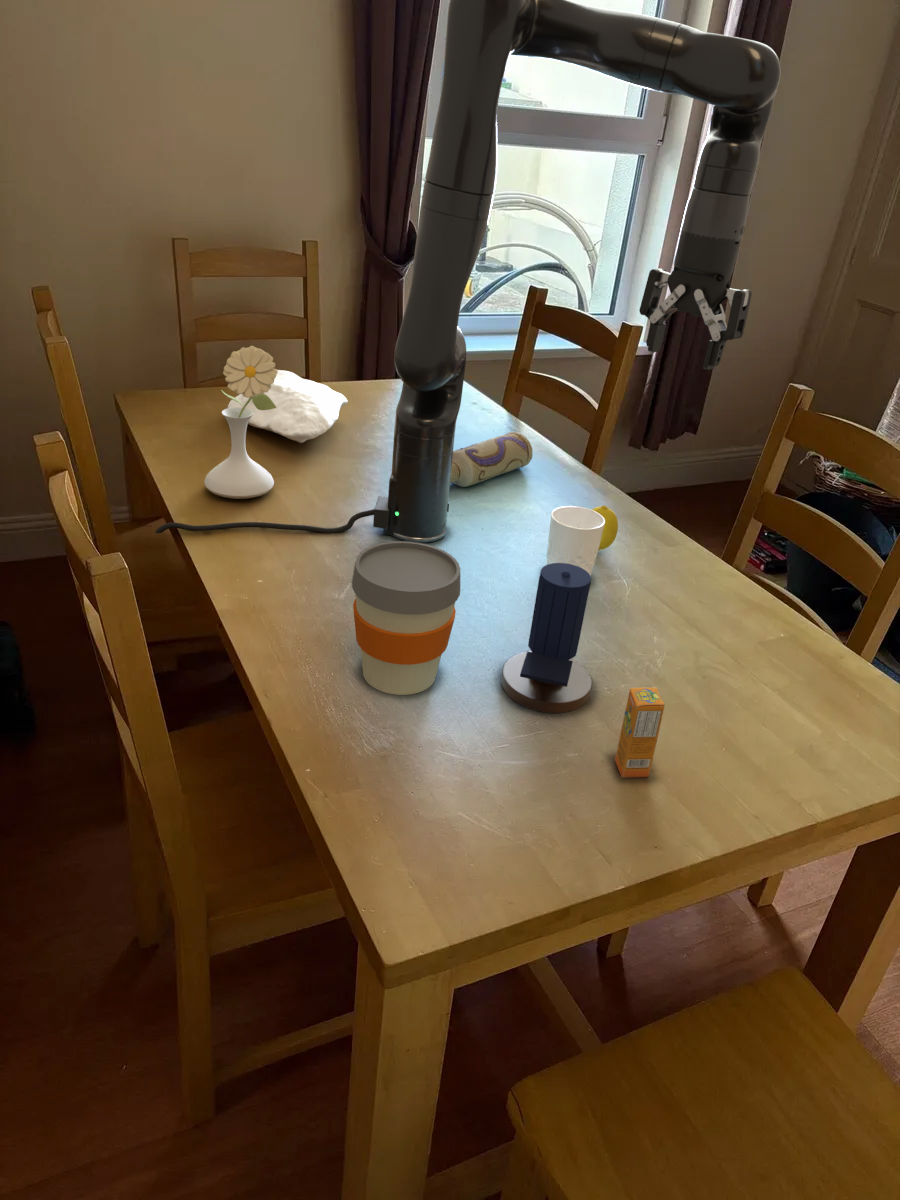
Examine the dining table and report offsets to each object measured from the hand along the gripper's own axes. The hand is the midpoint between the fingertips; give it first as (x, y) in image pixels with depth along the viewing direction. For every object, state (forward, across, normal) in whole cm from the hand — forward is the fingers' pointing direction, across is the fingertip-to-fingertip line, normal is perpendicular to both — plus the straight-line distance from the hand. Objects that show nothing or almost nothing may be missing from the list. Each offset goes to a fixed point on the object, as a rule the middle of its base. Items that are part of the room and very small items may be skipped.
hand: (680, 359), depth 119 cm
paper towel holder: (+34, +10, -32) cm, 48 cm away
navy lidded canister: (+28, +11, -34) cm, 46 cm away
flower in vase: (+35, -58, -29) cm, 74 cm away
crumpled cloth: (+35, -79, -2) cm, 87 cm away
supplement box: (+34, +25, -37) cm, 56 cm away
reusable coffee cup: (+34, -4, -44) cm, 56 cm away
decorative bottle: (+34, -41, +9) cm, 54 cm away
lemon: (+34, -9, +4) cm, 35 cm away
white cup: (+34, -6, -7) cm, 35 cm away
